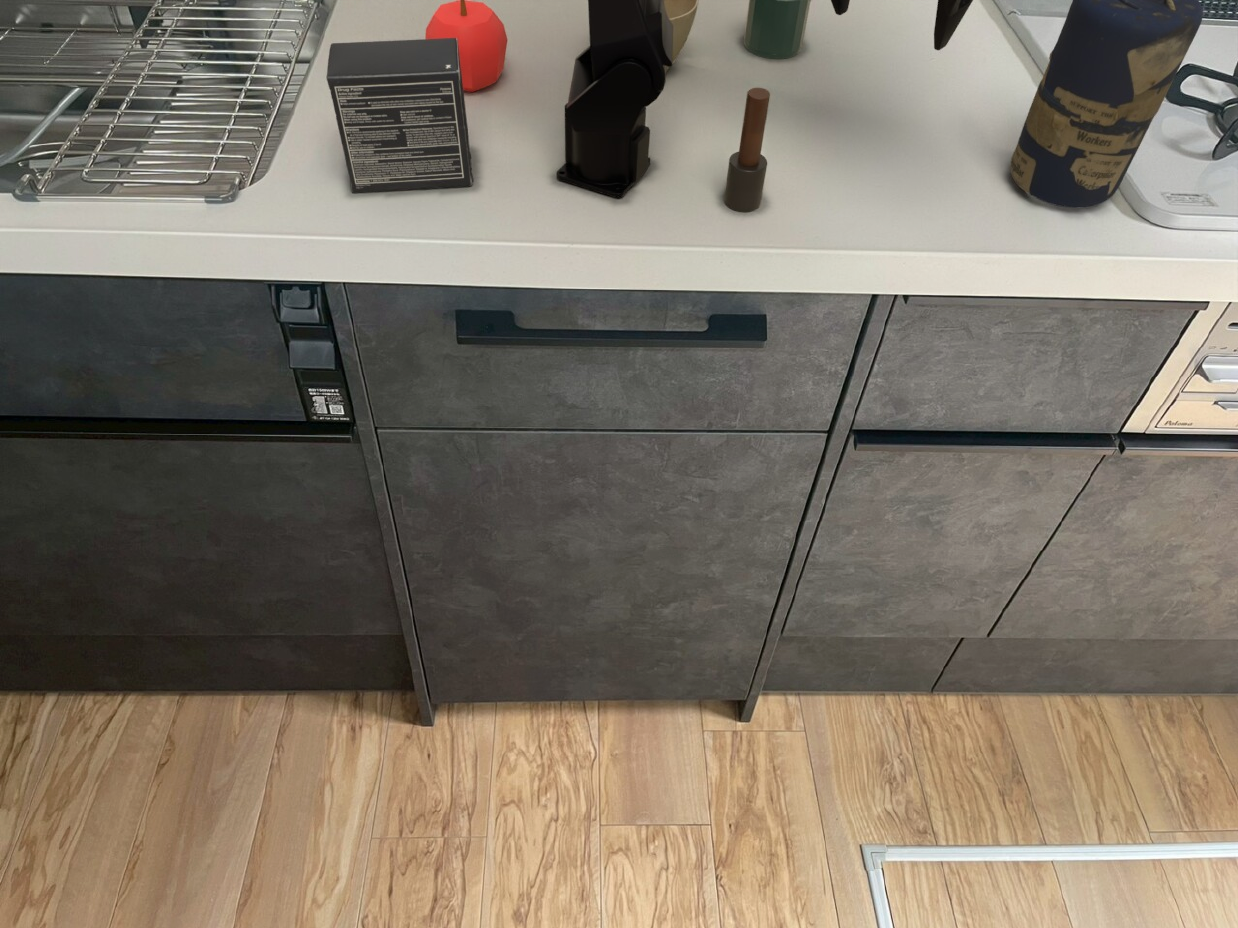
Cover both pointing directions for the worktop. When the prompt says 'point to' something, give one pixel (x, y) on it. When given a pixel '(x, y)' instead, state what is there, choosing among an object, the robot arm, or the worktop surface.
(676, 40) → the flower pot
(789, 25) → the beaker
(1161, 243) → the worktop surface
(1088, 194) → the canister
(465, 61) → the apple
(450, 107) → the small box
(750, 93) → the brown grey stepped cylinder
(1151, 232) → the worktop surface
